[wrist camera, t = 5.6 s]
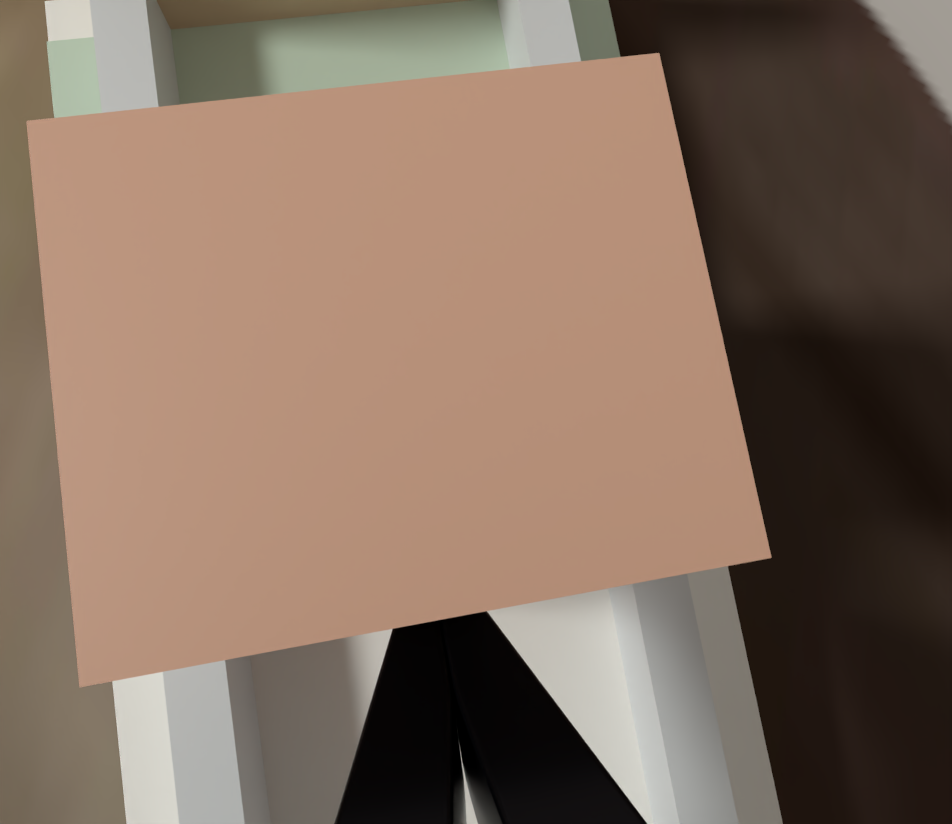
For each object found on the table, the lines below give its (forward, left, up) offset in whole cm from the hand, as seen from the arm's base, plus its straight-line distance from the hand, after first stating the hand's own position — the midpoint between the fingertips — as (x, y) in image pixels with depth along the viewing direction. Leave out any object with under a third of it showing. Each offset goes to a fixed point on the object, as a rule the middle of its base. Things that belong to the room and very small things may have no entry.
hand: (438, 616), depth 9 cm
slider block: (+2, -2, -5) cm, 6 cm away
